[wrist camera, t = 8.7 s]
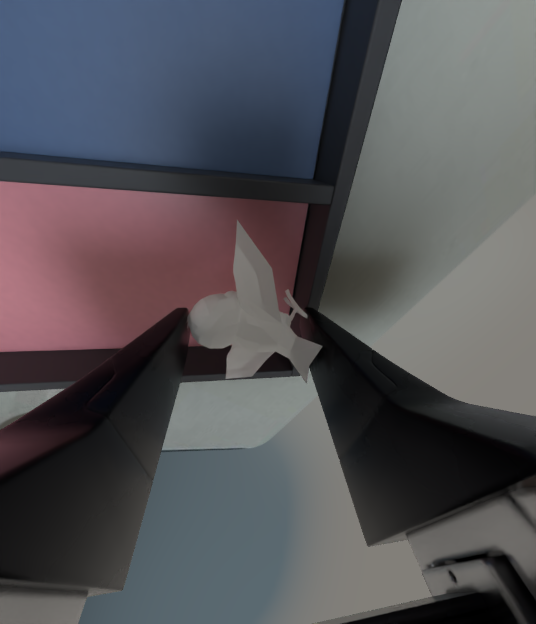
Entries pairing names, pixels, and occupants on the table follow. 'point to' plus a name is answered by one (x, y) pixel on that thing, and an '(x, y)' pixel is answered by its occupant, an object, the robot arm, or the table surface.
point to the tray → (170, 165)
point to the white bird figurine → (250, 317)
